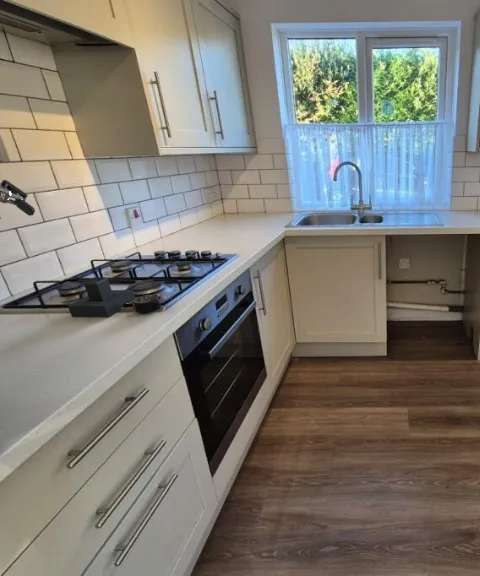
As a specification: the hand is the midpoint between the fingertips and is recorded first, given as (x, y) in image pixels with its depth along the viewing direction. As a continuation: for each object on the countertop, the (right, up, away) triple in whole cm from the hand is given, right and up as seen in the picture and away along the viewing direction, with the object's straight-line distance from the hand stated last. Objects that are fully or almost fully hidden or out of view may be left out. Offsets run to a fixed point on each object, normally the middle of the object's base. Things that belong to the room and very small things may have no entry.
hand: (16, 216), depth 89 cm
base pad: (+9, -24, +17) cm, 30 cm away
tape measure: (+24, -24, +16) cm, 37 cm away
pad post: (+9, -24, +17) cm, 30 cm away
